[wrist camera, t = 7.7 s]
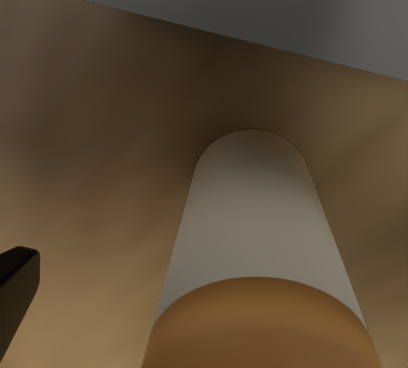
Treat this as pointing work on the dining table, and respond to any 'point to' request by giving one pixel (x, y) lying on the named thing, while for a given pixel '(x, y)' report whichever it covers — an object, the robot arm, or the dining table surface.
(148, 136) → the dining table surface
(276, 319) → the plug
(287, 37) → the header
